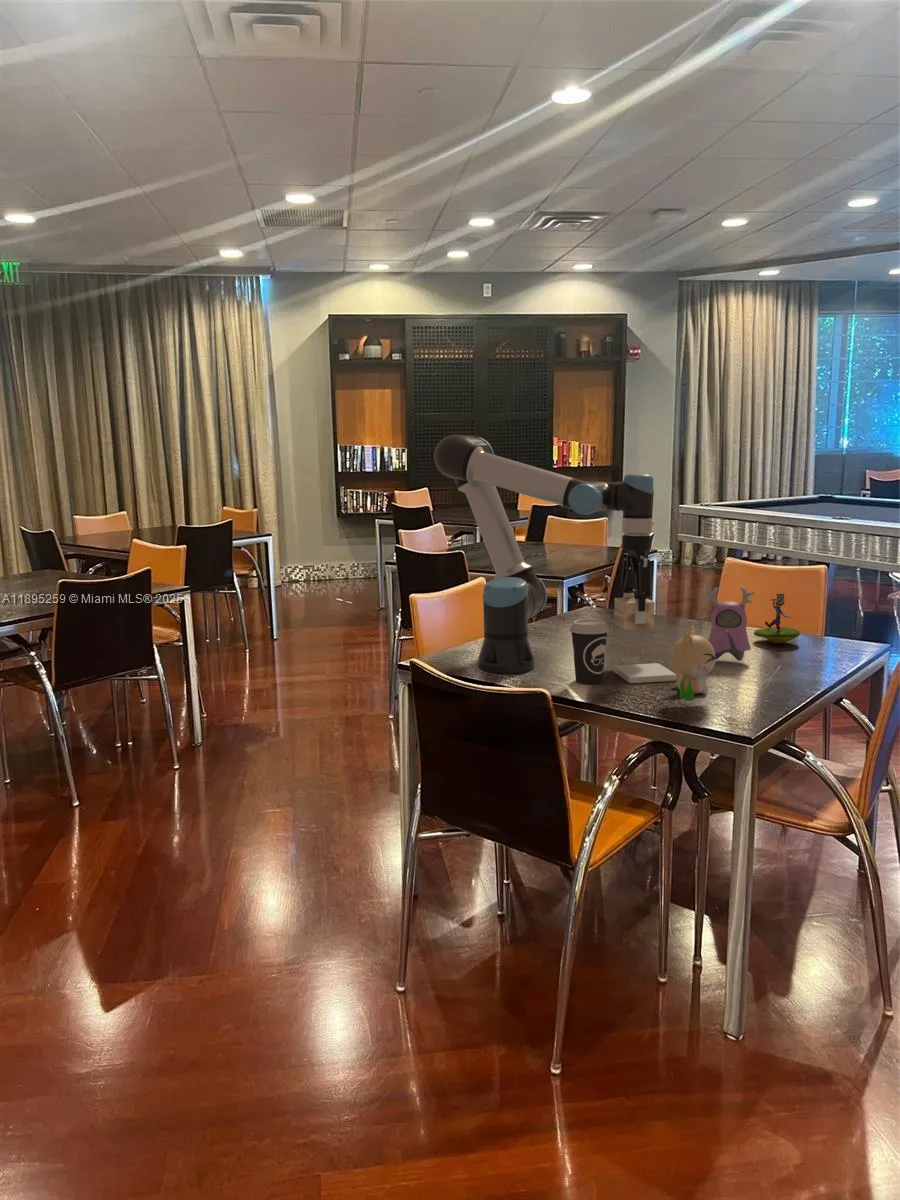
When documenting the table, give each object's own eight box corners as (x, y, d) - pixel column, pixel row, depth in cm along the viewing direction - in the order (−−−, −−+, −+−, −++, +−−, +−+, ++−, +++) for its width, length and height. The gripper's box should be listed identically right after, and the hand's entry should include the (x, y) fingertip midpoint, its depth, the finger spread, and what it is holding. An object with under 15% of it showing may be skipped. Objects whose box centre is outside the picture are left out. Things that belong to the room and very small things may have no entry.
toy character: (703, 663, 217) (705, 589, 214) (705, 654, 227) (707, 583, 224) (751, 666, 213) (754, 590, 210) (751, 657, 223) (754, 584, 219)
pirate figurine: (751, 637, 248) (753, 588, 246) (796, 638, 245) (798, 589, 242) (755, 647, 235) (757, 595, 233) (802, 648, 232) (805, 596, 229)
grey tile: (629, 683, 200) (629, 677, 199) (613, 671, 211) (613, 665, 211) (676, 680, 201) (676, 674, 201) (657, 668, 213) (658, 663, 213)
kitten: (711, 703, 181) (713, 637, 179) (665, 699, 185) (666, 634, 183) (718, 686, 195) (720, 625, 193) (675, 683, 199) (676, 622, 197)
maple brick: (624, 629, 212) (625, 603, 211) (614, 623, 220) (614, 598, 219) (654, 628, 213) (654, 602, 212) (642, 622, 221) (643, 596, 220)
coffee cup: (606, 676, 207) (607, 618, 204) (610, 686, 197) (611, 625, 195) (568, 676, 208) (568, 618, 205) (570, 686, 198) (570, 625, 196)
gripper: (666, 537, 203) (662, 627, 207) (636, 530, 223) (633, 612, 227) (637, 538, 202) (634, 628, 206) (610, 530, 222) (607, 613, 226)
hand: (633, 619), depth 216 cm, fingers closed on maple brick, 8 cm apart
